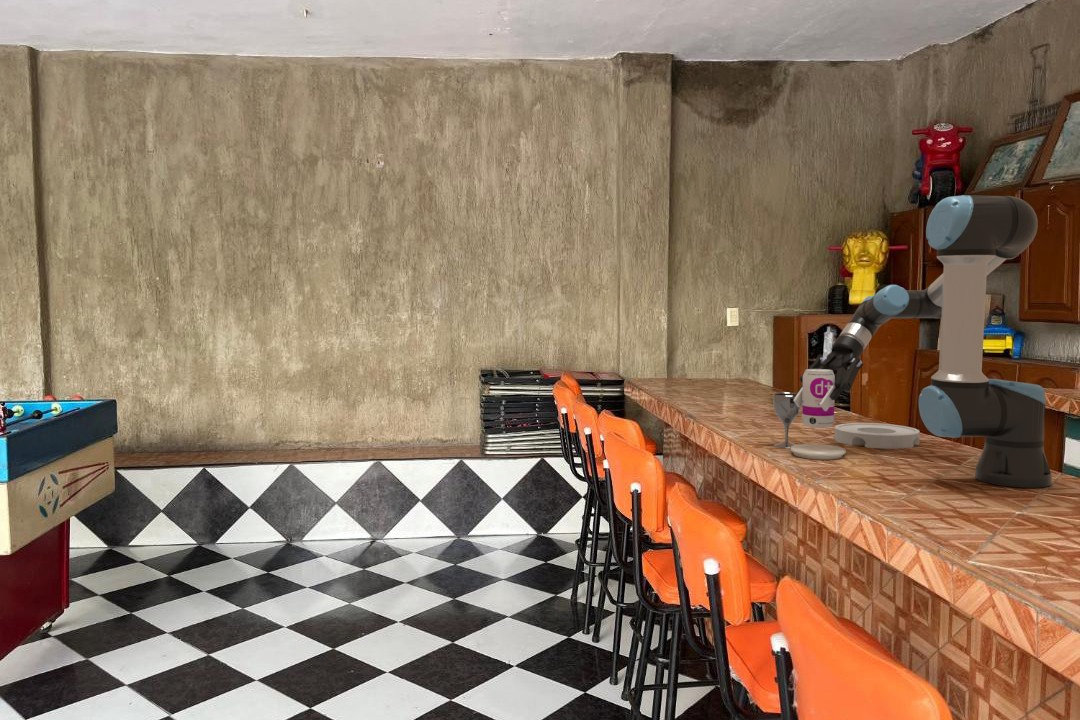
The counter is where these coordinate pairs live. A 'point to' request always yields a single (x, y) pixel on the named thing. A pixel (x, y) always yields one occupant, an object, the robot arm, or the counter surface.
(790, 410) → the wine glass
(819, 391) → the supplement can
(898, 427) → the ashtray
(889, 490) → the counter surface
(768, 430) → the counter surface
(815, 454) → the dish
